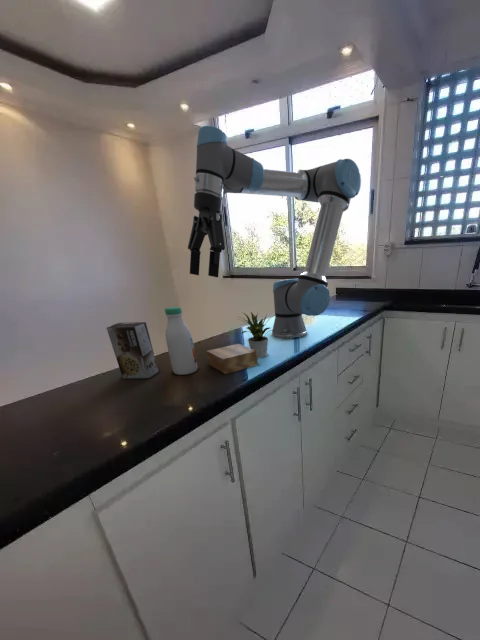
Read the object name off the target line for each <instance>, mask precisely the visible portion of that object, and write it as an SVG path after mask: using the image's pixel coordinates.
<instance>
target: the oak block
mask: <svg viewBox="0 0 480 640" xmlns="http://www.w3.org/2000/svg"><path fill="white" fill-rule="evenodd" d="M206 355H207V362H208V365H209V366H210V367H211V368H214V369H215V370H217V371H219V372H221V373H222V374H224V375H228V374H231V373H235V372H238V371H242V370H245V369H249V368H252V367H256V366H258V365H259V363H258V362H259V361H258V358H257V351H256V350H253V349H251V348H250V347H248V346H245V345H243V344H240V343H234V344H231V345H227V346H223V347H222V346H221V347H218V348H214V349H209V350H206Z"/></svg>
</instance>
